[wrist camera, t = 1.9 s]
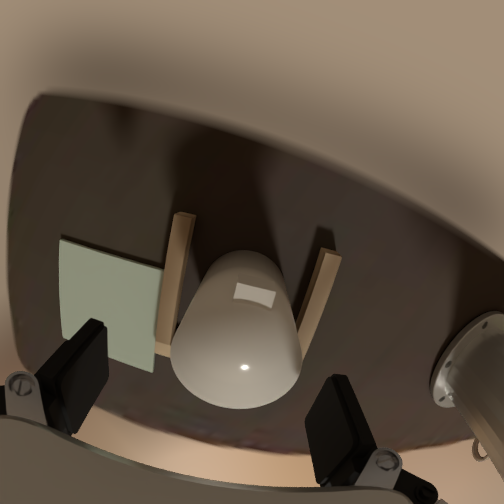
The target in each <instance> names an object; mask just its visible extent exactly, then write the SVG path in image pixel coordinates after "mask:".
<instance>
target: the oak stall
mask: <svg viewBox="0 0 504 504" xmlns="http://www.w3.org/2000/svg"><path fill="white" fill-rule="evenodd" d="M196 216H197V215H193V214H189V213H185V212H178V213H176V214H174V218H173V223H172V229H171V234H170V239H169V245H168V251H167V257H166V263H165V269H164V276H163V283H162V290H161V297H160V305H159V313H158V321H157V330H156V340H155V351H154V353H157V354H160V355H163V356H166V357H170V349H171V343H172V340H173V337H174V335H175V330H176V324H177V317H178V311H179V305H180V299H181V293H182V287H183V281H184V276H185V270H186V265H187V260H188V254H189V249H190V244H191V239H192V234H193V230H194V225H195V220H196ZM341 259H342V256H341V255H340V254H339V253H338V252H337V251H333V250H330V249H326V248H322V247H321V249H320V252H319V255H318V259H317V262H316V265H315V268H314V271H313V274H312V277H311V280H310V283H309V286H308V289H307V292H306V295H305V298H304V301H303V304H302V306H301V309H300V312H299V315H298V318H297V320H296V323H295V325H296V330H297V334H298V338H299V342H300V346H301V350H302V361H303V359H304V357H305V354H306V352H307V350H308V347H309V345H310V342H311V340H312V337H313V335H314V332H315V330H316V327H317V325H318V322H319V320H320V317H321V315H322V312H323V309H324V307H325V304H326V301H327V299H328V296H329V293H330V291H331V288H332V285H333V282H334V279H335V276H336V274H337V271H338V268H339V265H340V262H341ZM170 358H171V357H170Z"/></svg>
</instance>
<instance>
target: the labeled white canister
mask: <svg viewBox="0 0 504 504" xmlns="http://www.w3.org/2000/svg"><path fill="white" fill-rule="evenodd" d="M170 357H171V363H172V366H173V369H174V371H175V374H176V375H177V377H178V379H179V380H180V381H181V383H182V384H183V385H184V386H185V387H186V388H187V389H188V390H189V391H190V392H191V393H193V394H194V395H195V396H197V397H199V398H200V399H202V400H204V401H206V402H208V403H211V404H214V405H217V406H221V407H226V408H234V409H247V408H254V407H259V406H262V405H265V404H268V403H271V402H273V401H275V400H277V399H278V398H280V397H281V396H283V395H284V394H285V393H287V392H288V391H289V390H290V389H291V388H292V386H293V385H294V384H295V382H296V380H297V379H298V377H299V374H300V372H301V368H302V350H301V346H300V342H299V338H298V334H297V330H296V325H295V321H294V317H293V313H292V309H291V305H290V302H289V298H288V294H287V290H286V286H285V282H284V278H283V276H282V273H281V271H280V270H279V268H278V267H277V265H276V264H275V263H274V262H273V261H272V260H271V259H269V258H268V257H266V256H265V255H263V254H260V253H258V252H255V251H249V250H237V251H232V252H229V253H227V254H225V255H223V256H221V257H219V258H218V259H217V260H216V261H215V262H213V264H212V265H211V266H210V267H209V269H208V271H207V273H206V275H205V276H204V278H203V280H202V282H201V284H200V286H199V288H198V290H197V292H196V294H195V296H194V298H193V299H192V301H191V303H190V305H189V307H188V309H187V311H186V313H185V315H184V317H183V319H182V321H181V323H180V325H179V327H178V329H177V331H176V333H175V335H174V337H173V340H172V343H171V349H170Z"/></svg>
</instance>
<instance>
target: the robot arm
mask: <svg viewBox="0 0 504 504" xmlns="http://www.w3.org/2000/svg"><path fill="white" fill-rule="evenodd" d="M108 377H109V366H108V330H107V327H106V326H104V322H102V321H99V320H96V319H94V318H90V319H89V320H88V321H87V322H86V323H85V324H84V325H83V326H82V327H81V328H80V329H79V330H78V331H77V332H76V333H75V334H74V335H73V336H72V337H71V339H70V340H68V341H65V342H64V343H63V344H62V345H61V346H60V347H59V348H58V349H57V350H56V352H55V353H54V354H53V355H52V356H51V357H50V358H49V359H48V360H47V361H46V362H45V364H44V365H43V366H42V367H41V368H40V369H39V370H38V371H37V372H36V374H35V375H32V374H31V373H28V372H25V371H17V372H14V373H12V374H10V375H9V376H8V377H7V379H6V381H5V385H3V386H0V504H448V503H446V502H445V501H444V500H443V499H441V500H438V492H437V489H436V488H435V487H434V485H432V484H431V483H429V482H427V481H425V480H423V479H421V478H419V477H417V476H415V475H413V474H411V473H409V472H407V471H405V470H404V469H402V459H401V457H400V455H399V454H398V453H397V452H395V451H394V450H392V449H389V448H377V446H376V443H375V440H374V438H373V435H372V433H371V431H370V428H369V426H368V423H367V421H366V419H365V416H364V414H363V412H362V409H361V407H360V405H359V402H358V400H357V398H356V395H355V393H354V391H353V389H352V386H351V384H350V382H349V380H348V377H347V376H346V375H340V374H333V375H332V376H331V377H328V378H327V379H326V381H325V383H324V385H323V387H322V389H321V391H320V393H319V394H318V396H317V398H316V400H315V402H314V404H313V405H312V407H311V409H310V411H309V412H308V414H307V416H306V418H305V428H306V433H307V438H308V443H309V448H310V453H311V458H312V463H313V467H314V473H315V478H316V482H317V483H318V484H320V487H271V486H257V485H246V484H237V483H229V482H222V481H215V480H209V479H204V478H198V477H193V476H188V475H183V474H179V473H175V472H170V471H167V470H163V469H159V468H155V467H152V466H148V465H145V464H142V463H139V462H135V461H132V460H129V459H126V458H124V457H121V456H118V455H115V454H113V453H110V452H107V451H105V450H102V449H99V448H97V447H94V446H92V445H90V444H87V443H85V442H83V441H80V440H78V439H76V438H73V437H71V435H72V434H73V433H74V434H76V433H77V432H78V430H79V429H80V427H81V425H82V423H83V421H84V420H85V418H86V416H87V414H88V412H89V411H90V409H91V407H92V406H93V404H94V402H95V401H96V399H97V397H98V396H99V394H100V392H101V390H102V389H103V387H104V385H105V384H106V382H107V380H108ZM430 393H431V396H432V398H433V400H434V401H435V402H436V404H437V405H439V406H441V407H454V406H456V408H457V409H458V411H459V412H460V414H461V415H462V416H463V418H464V419H465V421H466V422H467V424H468V425H469V427H470V428H471V430H472V431H473V433H474V434H475V436H476V437H477V439H478V440H479V442H480V443H481V445H482V446H483V448H484V450H485V451H486V453H487V454H488V456H489V458H490V459H491V461H492V462H493V464H494V465H495V467H496V469H497V471H498V472H499V474H500V475H501V477H502V479H503V481H504V314H503V313H501V312H498V311H490V312H487V313H484V314H482V315H480V316H479V317H477V318H475V319H474V320H473V321H472V322H470V323H469V324H468V325H467V326H466V327H464V328H463V329H462V330H461V331H460V332H459V333H458V335H457V336H456V337H455V338H454V339H453V340H452V342H451V343H450V344H449V346H448V347H447V348H446V350H445V351H444V353H443V354H442V356H441V358H440V360H439V361H438V363H437V365H436V368H435V370H434V372H433V375H432V378H431V384H430Z"/></svg>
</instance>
